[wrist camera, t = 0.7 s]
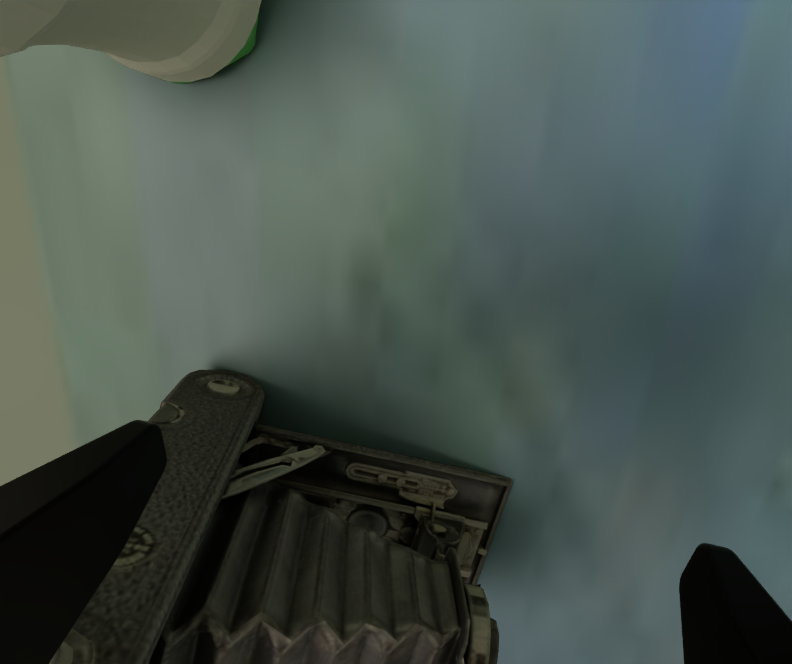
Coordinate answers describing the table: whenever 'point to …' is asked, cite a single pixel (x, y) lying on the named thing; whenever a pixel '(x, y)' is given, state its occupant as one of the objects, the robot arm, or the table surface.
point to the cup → (138, 32)
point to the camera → (292, 549)
